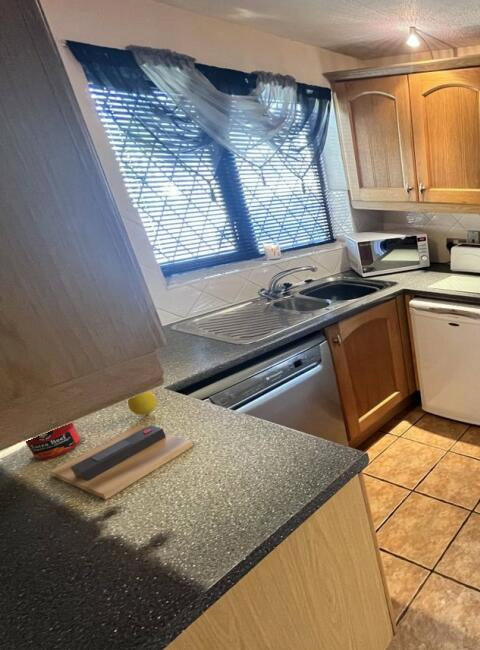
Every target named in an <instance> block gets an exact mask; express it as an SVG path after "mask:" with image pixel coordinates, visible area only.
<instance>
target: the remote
mask: <svg viewBox="0 0 480 650" xmlns="http://www.w3.org/2000/svg"><path fill="white" fill-rule="evenodd" d="M163 429H164V428H162V427H158V426H156V425H152V424H150V425H148V426H146V428H144V429H142V430H140V431H138V432H136V433H135V434H133V435H131V436H129V437H127V438H125V439H123V440H121V441H119V442H117V443H115V444H114V445H112V446H110V447H108V448H106V449H104V450H102V451H100V452H98V453H96V454H94V455H93V456H91V457H89V458H87V459H85V460H83V461H81V462H79V463H77V464H75V465H73V466H72V467H71V469H72V471H73V473H74V475H75V476H76V477H79V478H81V479H83V480H86V481H89V480H91V479H93V478H94V477H96V476H98V475H100V474H102V473H103V472H105V471H107V470H109V469H110V468H112V467H114V466H116V465H117V464H119V463H121V462H123V461H125V460H126V459H128V458H130V457H132V456H133V455H135V454H137V453H139V452H140V451H142V450H144V449H146V448H148V447H149V446H151V445H153V444H155V443H156V442H158V441H160V440H162V439H163V438H165V437H166V436H165V434H164V433H165V431H164V430H163Z"/></svg>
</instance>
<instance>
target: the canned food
mask: <svg viewBox="0 0 480 650" xmlns="http://www.w3.org/2000/svg"><path fill="white" fill-rule="evenodd" d="M80 442H81V437H80V435H79V433H78V431H77V429H76V427H75V424H74V423H73V422H72V423H70V424H68V425H65V426H62V427H60V428H57V429H55V430H52V431H50V432H48V433H45V434H42V435H40V436H38V437H36V438H33V439H31V440H28V441H26V442H25V444H26V446H27V447H28V449H29V451H30V452H31V454H32V456H33V457H34V458H36V459H38V460H48V459H53V458H56V457H58V456H59V457H60V456H61V455H63V454H66V453H68V452H70V451H71V450H74V448H76V446H78V445H79V444H80Z"/></svg>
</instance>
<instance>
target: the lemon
mask: <svg viewBox="0 0 480 650" xmlns="http://www.w3.org/2000/svg"><path fill="white" fill-rule="evenodd" d="M147 391H148V392H146V393H143V394H141V395H138V396H136V397H134V398H131V399H129V400H128V399H127V405H128V408H129V410H130V411H131V412H132V413H133V414H135V415H139V416H148V415H150V414H151V413H152V412H153V411H154V410H156V407H157V404H158V402H157V397H156V396H155V394H154V393H152V391H150V390H147Z"/></svg>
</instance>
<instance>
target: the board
mask: <svg viewBox="0 0 480 650" xmlns="http://www.w3.org/2000/svg"><path fill="white" fill-rule="evenodd" d="M146 427H147V426H146V425H143V424H138V425H136V426H134V427H132V428H131V429H129V430H127V431H125V432H123V433H121V434H119V435H117V436H114V437H113V438H111V439H109V440H108V441H105V442H103V443H101V444H99V445H98V446H95V447H94V448H92V449H89V450H88V451H86V452H84V453H81V454H80V455H78V456H76V457H74V458H72V459H70V460H68V461H66V462H64V463H62V464H60V465H58V466H56V467H54V468H52V469H51V470H49V471H50V474H51V475H52V477H55V478H56V479H59V480H61V481H63V482H65V483H68V484H70V485H72V486H74V487H77V488H79V489H81V490H84V491H86V492H88V493H90V494H92V495H95V496H97V497H99V498H102V499H103V500H108V499H109V498H111V497H113V496H115V495H116V494H117V493H119V492H121V491H123V490H124V489H125V488H128V487H129V486H130V485H133V484H134V483H135V482H137V481H138V480H141V479H142V478H143V477H145V476H147V475H148V474H150V473H151V472H153V471H155V470H156V469H158V468H160V467H161V466H163V465H164V464H166V463H168V462H169V461H171V460H173V459H174V458H176V457H178V456H180V455H181V454H182V453H184V452H186V451H187V450H189V449H191V448H192V447H194V445H193V442H192V440H189V439H186V438H182V437H180V436H176V435H174V434H173V435H172V434H170V433H167V432H164V434H165V436H166V437H165V438H163V439H162V440H160V441H158V442H156V443H155V444H153V445H151V446H149V447H148V448H146V449H144V450H142V451H140V452H139V453H137V454H135V455H133V456H132V457H130V458H128V459H126V460H125V461H123V462H121V463H119V464H117V465H116V466H114V467H112V468H110V469H109V470H107V471H105V472H103V473H102V474H100V475H98V476H96V477H94V478H93V479H91V480H89V481H86V480H83V479H81V478H79V477H76V476H75V475H74V473H73V471H72V469H71V467H72V466H73V465H75V464H77V463H79V462H81V461H83V460H85V459H87V458H89V457H91V456H93V455H94V454H96V453H98V452H100V451H102V450H104V449H106V448H108V447H110V446H112V445H114V444H115V443H117V442H119V441H121V440H123V439H125V438H127V437H129V436H131V435H133V434H135V433H136V432H138V431H140V430H142V429H144V428H146Z"/></svg>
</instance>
